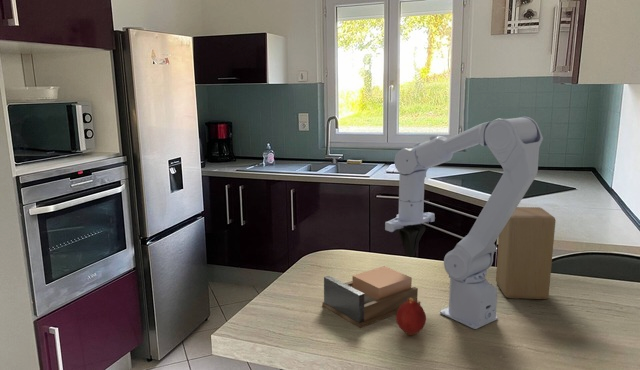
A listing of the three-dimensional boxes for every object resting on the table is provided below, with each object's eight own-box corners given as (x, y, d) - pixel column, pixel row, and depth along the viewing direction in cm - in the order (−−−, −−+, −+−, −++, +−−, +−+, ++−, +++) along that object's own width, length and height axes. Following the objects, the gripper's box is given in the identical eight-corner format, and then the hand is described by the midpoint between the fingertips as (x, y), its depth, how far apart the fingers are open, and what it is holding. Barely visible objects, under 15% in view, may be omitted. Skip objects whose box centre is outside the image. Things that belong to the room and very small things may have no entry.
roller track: (420, 304, 112) (421, 275, 111) (360, 327, 102) (360, 296, 101) (380, 286, 123) (381, 259, 121) (322, 305, 112) (322, 276, 111)
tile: (411, 289, 113) (411, 277, 112) (378, 301, 107) (379, 288, 106) (384, 277, 120) (384, 266, 119) (352, 287, 114) (352, 275, 114)
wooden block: (535, 283, 124) (542, 206, 120) (549, 301, 114) (557, 217, 110) (494, 282, 125) (499, 205, 121) (505, 299, 115) (511, 216, 111)
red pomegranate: (405, 325, 103) (406, 289, 101) (430, 333, 99) (431, 296, 98) (390, 335, 99) (391, 298, 97) (416, 345, 95) (417, 306, 93)
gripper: (420, 192, 122) (418, 244, 125) (376, 200, 114) (375, 256, 116) (442, 197, 116) (440, 252, 119) (398, 206, 108) (396, 265, 111)
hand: (409, 255), depth 117 cm, fingers closed
